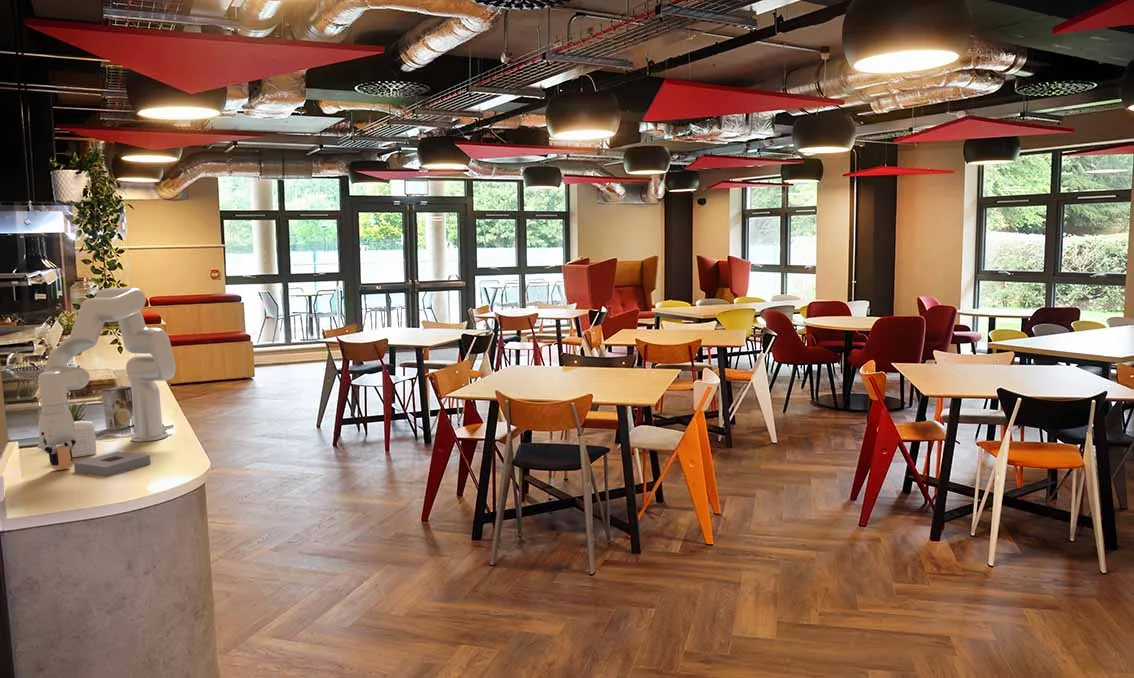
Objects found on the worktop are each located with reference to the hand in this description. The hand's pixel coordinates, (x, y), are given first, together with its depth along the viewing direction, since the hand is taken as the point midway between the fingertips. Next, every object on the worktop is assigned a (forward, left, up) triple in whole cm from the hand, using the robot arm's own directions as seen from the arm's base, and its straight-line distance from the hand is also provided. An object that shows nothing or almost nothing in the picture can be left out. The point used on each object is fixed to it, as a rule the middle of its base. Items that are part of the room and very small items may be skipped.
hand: (61, 462), depth 294 cm
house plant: (-29, -34, -2) cm, 44 cm away
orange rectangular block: (0, 0, -2) cm, 2 cm away
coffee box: (-53, -42, -2) cm, 67 cm away
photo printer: (-15, -12, -3) cm, 19 cm away
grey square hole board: (-8, +15, -2) cm, 17 cm away
